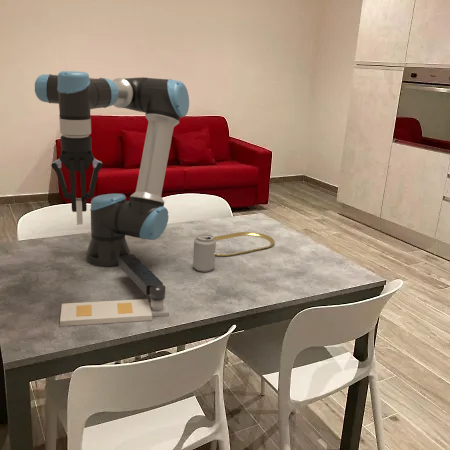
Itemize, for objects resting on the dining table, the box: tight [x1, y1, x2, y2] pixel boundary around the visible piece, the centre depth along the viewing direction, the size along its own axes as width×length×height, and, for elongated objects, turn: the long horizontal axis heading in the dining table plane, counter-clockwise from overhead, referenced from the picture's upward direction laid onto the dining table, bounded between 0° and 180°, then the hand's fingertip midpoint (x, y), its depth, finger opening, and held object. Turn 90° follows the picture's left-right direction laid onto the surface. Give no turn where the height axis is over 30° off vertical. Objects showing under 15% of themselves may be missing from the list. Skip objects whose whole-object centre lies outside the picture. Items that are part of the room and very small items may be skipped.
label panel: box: [59, 298, 170, 327], centre depth 137 cm, size 10×29×4 cm, turn 105°
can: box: [192, 233, 217, 273], centre depth 171 cm, size 8×8×12 cm
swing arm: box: [117, 253, 166, 300], centre depth 149 cm, size 28×5×3 cm, turn 30°
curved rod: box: [214, 231, 275, 257], centre depth 197 cm, size 19×35×2 cm, turn 126°
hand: (79, 222), depth 133 cm, fingers closed
